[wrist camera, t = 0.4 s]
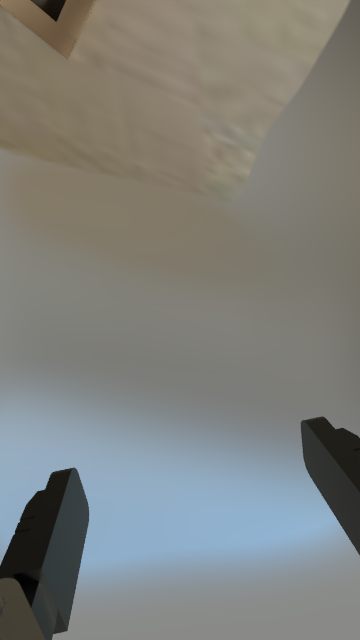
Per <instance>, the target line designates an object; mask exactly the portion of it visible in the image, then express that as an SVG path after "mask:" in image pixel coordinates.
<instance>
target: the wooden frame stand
mask: <svg viewBox="0 0 360 640" xmlns="http://www.w3.org/2000/svg"><path fill="white" fill-rule="evenodd" d="M95 1H96V0H66V2H65V4H64V6H63V9H62V11H61V13H60V16H59V18H58V20H57V22H55V21H54V20H53V19H52V18H51V17H50V16H48V15H47V14H46V13H45V12H44V11H42V10H41V9H40V8H39V7H38V6H37V5H35V4H34V3H33V2H32V1H31V0H0V5H1V6H2V7H3V8H5V9H6V10H7V11H8V12H10V13H11V14H12V15H13V16H15V17H16V18H17V19H18V20H20V21H21V22H22V23H23V24H25V25H26V26H27V27H28V28H29V29H31V30H32V31H33V32H34V33H36V34H37V35H38V36H39V37H41V38H42V39H43V40H44V41H46V42H47V43H48V44H49V45H51V46H52V47H53V48H54V49H56V50H57V51H58V52H59V53H60V54H62V55H63V56H64V57H65V58H67V59H69V57H70V55H71V53H72V51H73V48H74V46H75V44H76V42H77V40H78V38H79V36H80V33H81V31H82V29H83V27H84V25H85V23H86V20H87V18H88V16H89V14H90V12H91V10H92V8H93V5H94V3H95Z"/></svg>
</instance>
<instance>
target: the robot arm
mask: <svg viewBox="0 0 360 640" xmlns="http://www.w3.org/2000/svg"><path fill="white" fill-rule="evenodd" d="M301 434H302V446H303V457H304V462H305V466H306V468H307V471H308V473H309V475H310V477H311V478H312V480H313V482H314V483H315V485H316V486H317V488H318V489H319V491H320V493H321V494H322V496H323V497H324V499H325V501H326V502H327V504H328V505H329V507H330V509H331V510H332V512H333V513H334V515H335V516H336V518H337V520H338V521H339V523H340V525H341V526H342V528H343V529H344V531H345V532H346V534H347V535H348V537H349V539H350V540H351V542H352V544H353V545H354V546H355V548H356V550H357V551H358V553H359V555H360V438H359V437H358V436H357V435H355V434H353V433H351V432H349V431H348V430H346V429H344V428H340V429H335V428H334V427H333V426H332V425H331V424H330V423H329V422H328V420H327V419H326V418H324V417H317V418H313V419H308V420H303V421H302V422H301ZM88 522H89V507H88V502H87V499H86V496H85V493H84V489H83V486H82V483H81V480H80V477H79V474H78V471H77V469H76V468H70V469H65V470H60V471H55V472H53V473H52V474H51V475H50V478H49V481H48V483H47V486H46V489H45V490H42V491H38V492H37V493H36V494H35V495H34V496H33V498H32V499H31V500H30V501H29V502H28V504H27V505H26V507H25V509H24V511H23V514H22V516H21V518H20V522H19V523H18V525H17V528H16V530H15V534H14V535H13V537H12V539H11V542H10V544H9V547H8V549H7V551H6V554H5V556H4V558H3V561H2V563H1V565H0V640H52V636H53V634H56V633H61V632H65V631H67V630H68V625H69V620H70V614H71V609H72V604H73V598H74V594H75V589H76V584H77V579H78V573H79V568H80V563H81V558H82V553H83V548H84V543H85V538H86V533H87V528H88Z"/></svg>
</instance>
